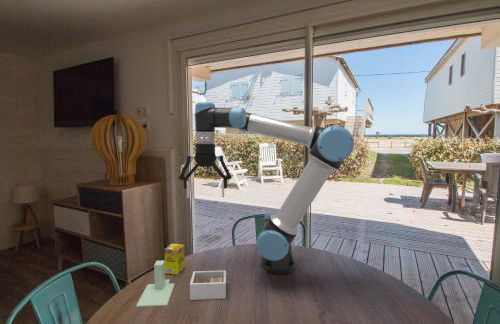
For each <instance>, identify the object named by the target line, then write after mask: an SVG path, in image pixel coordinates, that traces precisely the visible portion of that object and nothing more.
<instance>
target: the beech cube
mask: <svg viewBox="0 0 500 324" xmlns="http://www.w3.org/2000/svg"><path fill="white" fill-rule="evenodd" d="M214 282H222V278H211V282H210V283H214Z"/></svg>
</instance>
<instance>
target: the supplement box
mask: <svg viewBox="0 0 500 324" xmlns="http://www.w3.org/2000/svg"><path fill="white" fill-rule="evenodd" d="M164 260H165V275H172V276H173V275H174V276H179V275H180V274H181V273H182V272H183V271H184V270H185V244H180V243H171V244H169V245H168V246H167V247H166V248H164Z"/></svg>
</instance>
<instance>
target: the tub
mask: <svg viewBox="0 0 500 324" xmlns="http://www.w3.org/2000/svg"><path fill="white" fill-rule="evenodd" d="M196 278H208V283H196ZM211 278H222V282H214V283H210V282H211ZM226 297H227V270H225V269H224V270H198V271H197V270H196V271H195V270H194V271H192V275H191V279H190V283H189V300H190V301H199V300H200V301H201V300H203V301H204V300H223V299H226Z"/></svg>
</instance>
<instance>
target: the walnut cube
mask: <svg viewBox="0 0 500 324" xmlns="http://www.w3.org/2000/svg"><path fill="white" fill-rule="evenodd" d="M196 283H208V278H196Z"/></svg>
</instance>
